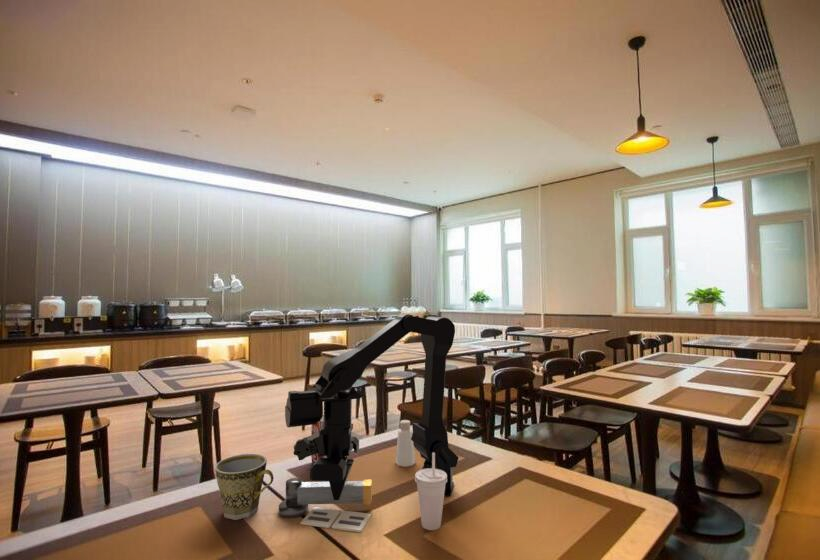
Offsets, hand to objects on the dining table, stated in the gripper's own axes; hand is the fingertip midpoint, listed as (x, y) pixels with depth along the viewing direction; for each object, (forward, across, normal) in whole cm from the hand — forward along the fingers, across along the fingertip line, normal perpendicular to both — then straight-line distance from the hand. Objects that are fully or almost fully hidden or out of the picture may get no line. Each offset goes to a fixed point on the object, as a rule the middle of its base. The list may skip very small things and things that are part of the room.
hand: (336, 499), depth 85 cm
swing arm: (+2, -2, -2) cm, 4 cm away
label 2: (+3, +2, +4) cm, 5 cm away
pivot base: (+3, -2, -9) cm, 10 cm away
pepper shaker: (+2, -27, +12) cm, 30 cm away
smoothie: (+4, +2, +19) cm, 20 cm away
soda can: (+2, -26, -9) cm, 28 cm away
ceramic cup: (+3, 0, -19) cm, 19 cm away
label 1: (+3, +1, -3) cm, 4 cm away
